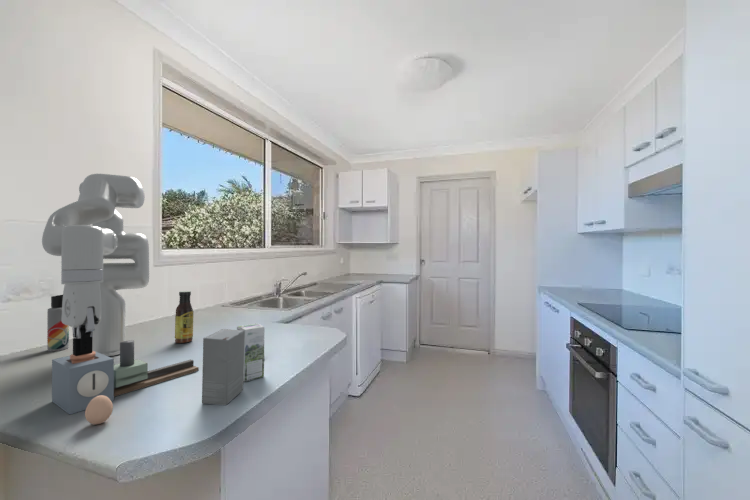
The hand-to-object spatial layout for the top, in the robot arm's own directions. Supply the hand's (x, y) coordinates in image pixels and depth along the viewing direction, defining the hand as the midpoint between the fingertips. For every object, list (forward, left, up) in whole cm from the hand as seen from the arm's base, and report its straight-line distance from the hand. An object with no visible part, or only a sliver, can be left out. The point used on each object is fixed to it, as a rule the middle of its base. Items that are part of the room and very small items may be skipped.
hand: (82, 354), depth 79 cm
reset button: (0, 0, -4) cm, 4 cm away
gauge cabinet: (0, 0, -11) cm, 11 cm away
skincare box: (+27, +19, -12) cm, 35 cm away
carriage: (0, +9, -9) cm, 13 cm away
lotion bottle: (-62, +11, -12) cm, 64 cm away
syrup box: (+21, +31, -12) cm, 39 cm away
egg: (+16, -2, -12) cm, 20 cm away
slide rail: (0, +16, -11) cm, 19 cm away
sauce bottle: (-33, +41, -12) cm, 54 cm away
